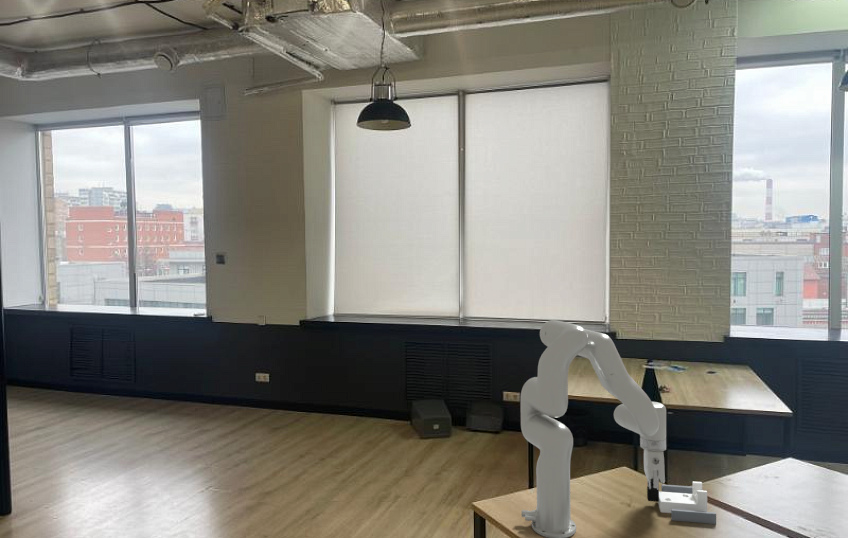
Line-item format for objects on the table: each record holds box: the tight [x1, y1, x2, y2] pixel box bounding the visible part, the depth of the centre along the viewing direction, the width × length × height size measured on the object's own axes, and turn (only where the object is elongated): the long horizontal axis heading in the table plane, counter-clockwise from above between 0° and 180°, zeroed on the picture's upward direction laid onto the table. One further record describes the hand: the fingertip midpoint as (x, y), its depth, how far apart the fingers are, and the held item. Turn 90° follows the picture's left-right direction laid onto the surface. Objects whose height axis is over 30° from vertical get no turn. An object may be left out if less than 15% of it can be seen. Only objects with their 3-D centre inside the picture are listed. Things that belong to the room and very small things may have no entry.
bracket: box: [657, 481, 708, 514], centre depth 176 cm, size 13×7×8 cm, turn 77°
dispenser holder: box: [660, 483, 717, 525], centre depth 176 cm, size 12×18×3 cm, turn 167°
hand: (652, 500), depth 179 cm, fingers closed
